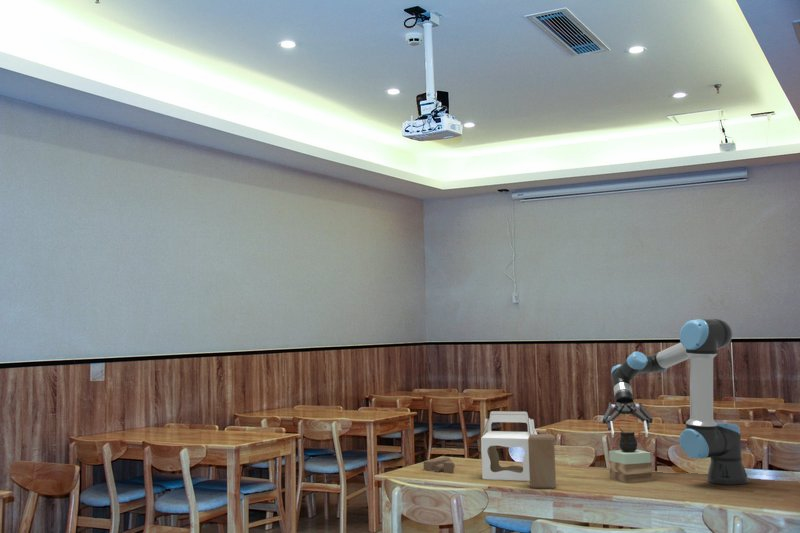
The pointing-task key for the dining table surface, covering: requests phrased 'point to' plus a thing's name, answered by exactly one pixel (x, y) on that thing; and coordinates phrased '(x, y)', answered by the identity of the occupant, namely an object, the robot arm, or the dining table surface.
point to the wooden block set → (439, 465)
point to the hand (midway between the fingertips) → (629, 435)
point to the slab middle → (631, 468)
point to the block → (542, 461)
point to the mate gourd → (628, 441)
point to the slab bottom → (631, 477)
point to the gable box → (505, 439)
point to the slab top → (630, 457)
